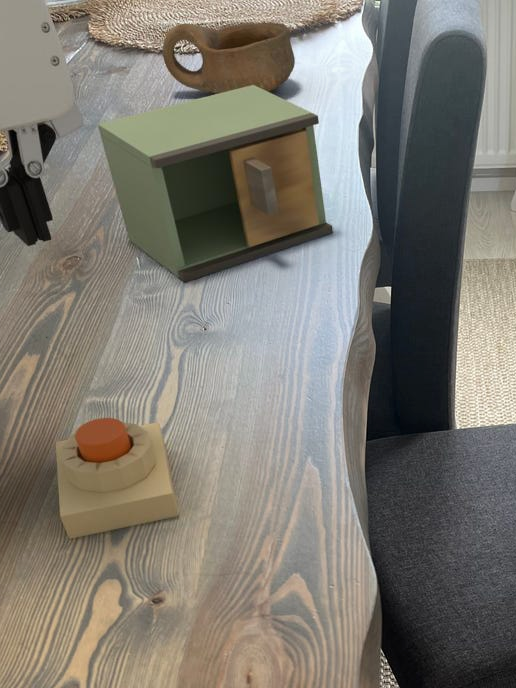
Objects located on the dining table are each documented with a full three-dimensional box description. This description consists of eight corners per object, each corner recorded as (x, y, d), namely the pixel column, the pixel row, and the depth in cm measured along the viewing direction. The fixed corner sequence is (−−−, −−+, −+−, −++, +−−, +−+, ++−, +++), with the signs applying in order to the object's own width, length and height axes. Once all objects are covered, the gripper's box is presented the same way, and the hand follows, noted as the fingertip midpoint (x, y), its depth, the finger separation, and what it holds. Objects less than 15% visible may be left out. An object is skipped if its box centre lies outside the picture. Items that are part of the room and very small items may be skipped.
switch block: (179, 516, 75) (166, 472, 72) (69, 539, 74) (51, 495, 71) (165, 444, 82) (152, 402, 79) (64, 464, 80) (47, 421, 78)
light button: (133, 459, 74) (126, 439, 73) (83, 469, 74) (75, 449, 72) (129, 433, 77) (122, 413, 76) (80, 442, 76) (73, 422, 75)
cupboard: (184, 282, 103) (154, 160, 94) (129, 240, 110) (97, 123, 101) (333, 232, 110) (318, 115, 102) (272, 196, 118) (253, 84, 109)
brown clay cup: (178, 109, 136) (157, 23, 131) (174, 109, 147) (155, 30, 142) (307, 91, 139) (292, 6, 134) (293, 92, 151) (279, 14, 146)
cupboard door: (266, 258, 103) (248, 161, 96) (246, 245, 106) (228, 149, 99) (336, 235, 107) (324, 139, 100) (316, 223, 109) (303, 129, 102)
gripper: (30, -120, 60) (113, 191, 73) (-242, -85, 54) (-98, 248, 67) (79, -101, 56) (158, 225, 69) (-209, -61, 50) (-62, 289, 63)
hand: (32, 235), depth 68 cm, fingers closed
